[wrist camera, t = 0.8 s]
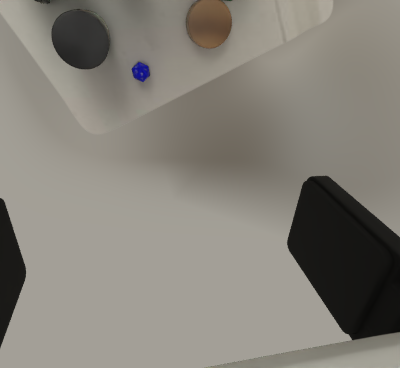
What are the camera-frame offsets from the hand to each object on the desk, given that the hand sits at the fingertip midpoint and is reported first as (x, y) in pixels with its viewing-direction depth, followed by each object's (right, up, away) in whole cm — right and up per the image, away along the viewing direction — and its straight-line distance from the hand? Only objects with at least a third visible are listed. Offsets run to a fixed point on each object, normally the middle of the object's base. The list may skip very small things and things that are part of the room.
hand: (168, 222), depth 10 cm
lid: (-14, +19, +28) cm, 36 cm away
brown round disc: (+2, +27, +37) cm, 46 cm away
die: (-9, +20, +39) cm, 45 cm away
